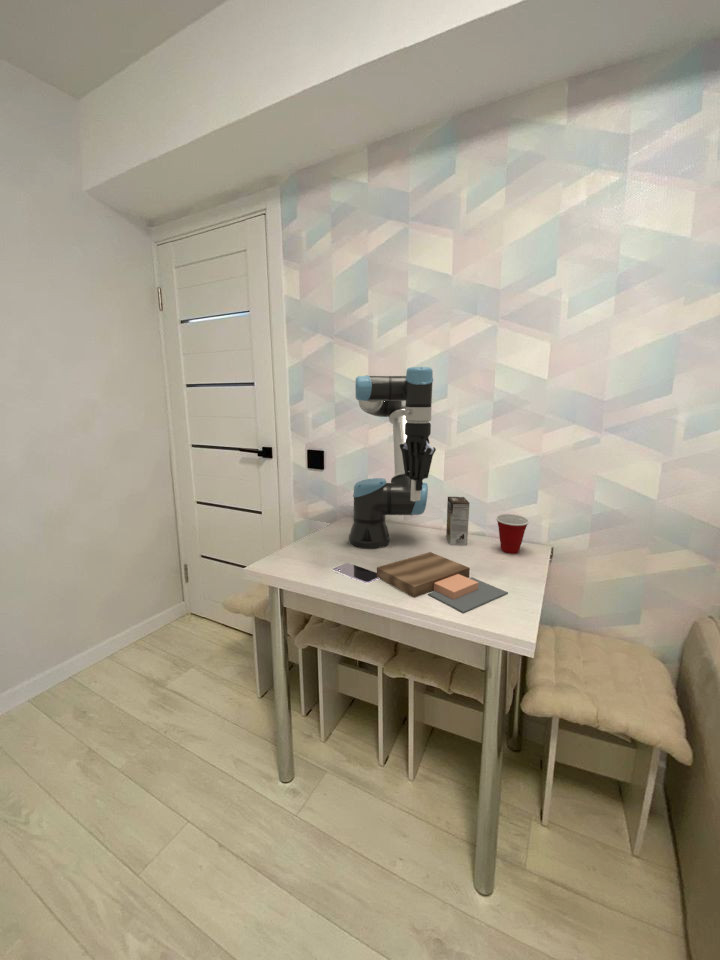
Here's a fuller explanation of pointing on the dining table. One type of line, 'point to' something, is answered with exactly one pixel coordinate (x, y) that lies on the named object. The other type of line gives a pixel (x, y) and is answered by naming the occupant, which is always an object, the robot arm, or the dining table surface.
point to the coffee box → (457, 520)
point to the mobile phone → (357, 572)
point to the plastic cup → (511, 531)
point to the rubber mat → (471, 597)
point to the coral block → (455, 586)
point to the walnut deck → (420, 573)
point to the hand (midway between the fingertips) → (415, 500)
